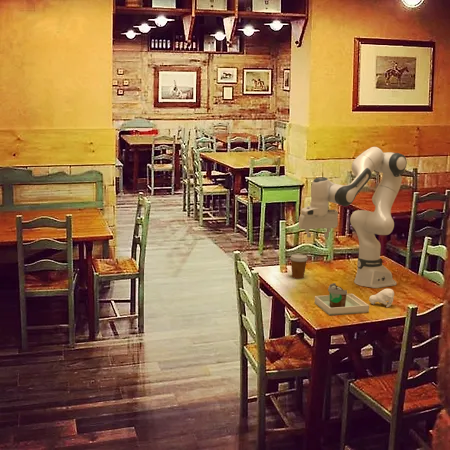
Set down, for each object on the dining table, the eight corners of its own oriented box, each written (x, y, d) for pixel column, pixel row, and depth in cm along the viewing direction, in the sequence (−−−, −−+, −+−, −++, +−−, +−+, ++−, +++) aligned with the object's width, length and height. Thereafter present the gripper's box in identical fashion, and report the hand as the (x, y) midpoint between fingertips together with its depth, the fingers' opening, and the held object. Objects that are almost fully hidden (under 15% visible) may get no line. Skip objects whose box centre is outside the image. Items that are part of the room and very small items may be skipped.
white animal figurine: (393, 291, 333) (368, 290, 336) (394, 308, 335) (368, 307, 338) (394, 287, 339) (369, 286, 342) (394, 304, 341) (369, 303, 344)
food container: (322, 303, 337) (323, 283, 335) (333, 302, 339) (335, 282, 337) (334, 311, 326) (335, 291, 324) (346, 310, 328) (347, 290, 326)
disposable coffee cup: (310, 278, 381) (311, 257, 378) (296, 280, 376) (297, 259, 373) (299, 273, 389) (299, 253, 386) (285, 276, 383) (286, 255, 381)
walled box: (351, 300, 345) (352, 293, 345) (368, 312, 328) (369, 305, 328) (314, 303, 340) (314, 296, 339) (329, 315, 323) (330, 308, 322)
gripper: (335, 208, 354) (333, 234, 357) (297, 209, 348) (296, 236, 351) (340, 210, 348) (339, 237, 351) (302, 211, 342) (301, 239, 345)
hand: (317, 236), depth 351 cm, fingers open, 8 cm apart
